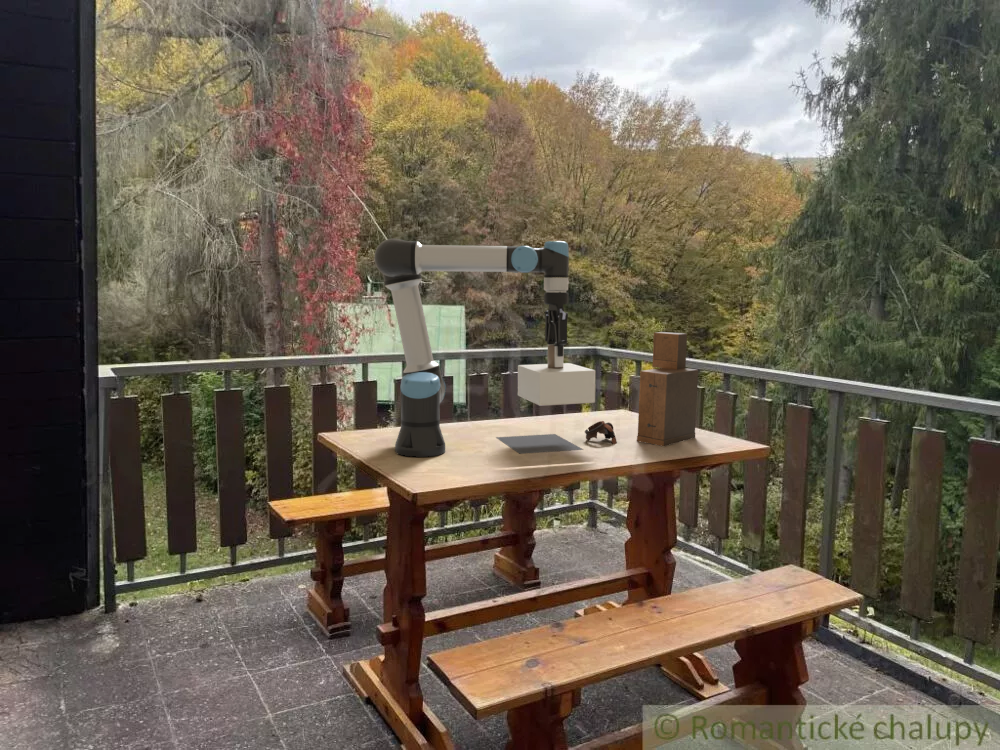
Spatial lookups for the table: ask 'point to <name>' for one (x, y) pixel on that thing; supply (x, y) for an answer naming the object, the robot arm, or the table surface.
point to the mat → (538, 443)
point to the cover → (556, 383)
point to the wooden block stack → (668, 393)
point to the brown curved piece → (601, 431)
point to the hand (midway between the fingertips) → (555, 365)
